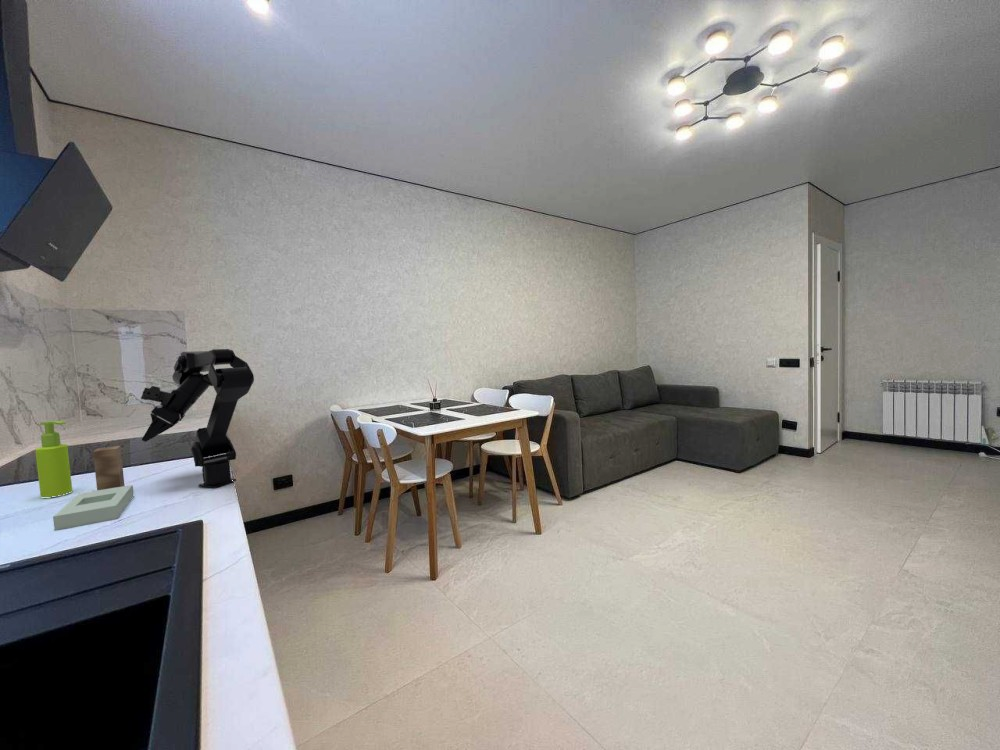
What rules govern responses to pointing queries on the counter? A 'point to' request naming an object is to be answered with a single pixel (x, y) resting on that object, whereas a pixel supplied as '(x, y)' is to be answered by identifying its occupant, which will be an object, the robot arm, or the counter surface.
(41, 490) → the soap dispenser
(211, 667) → the counter surface
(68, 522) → the sage rectangular frame
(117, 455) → the walnut post
